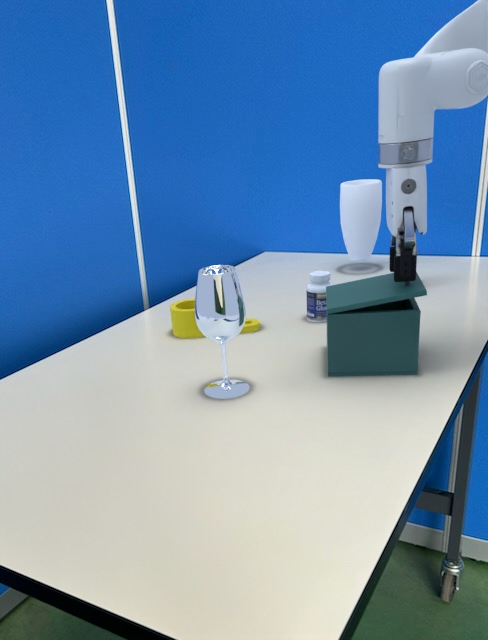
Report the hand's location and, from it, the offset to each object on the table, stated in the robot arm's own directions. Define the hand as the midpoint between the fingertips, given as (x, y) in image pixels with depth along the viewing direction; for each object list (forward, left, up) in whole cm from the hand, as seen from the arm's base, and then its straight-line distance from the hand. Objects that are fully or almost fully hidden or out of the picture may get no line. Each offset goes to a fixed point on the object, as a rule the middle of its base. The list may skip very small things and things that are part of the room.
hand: (402, 274), depth 98 cm
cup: (+3, -61, -15) cm, 63 cm away
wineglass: (+28, +11, -15) cm, 33 cm away
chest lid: (+4, 0, -3) cm, 5 cm away
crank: (+34, -18, -15) cm, 41 cm away
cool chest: (+5, 0, -15) cm, 16 cm away
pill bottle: (+13, -23, -15) cm, 31 cm away
